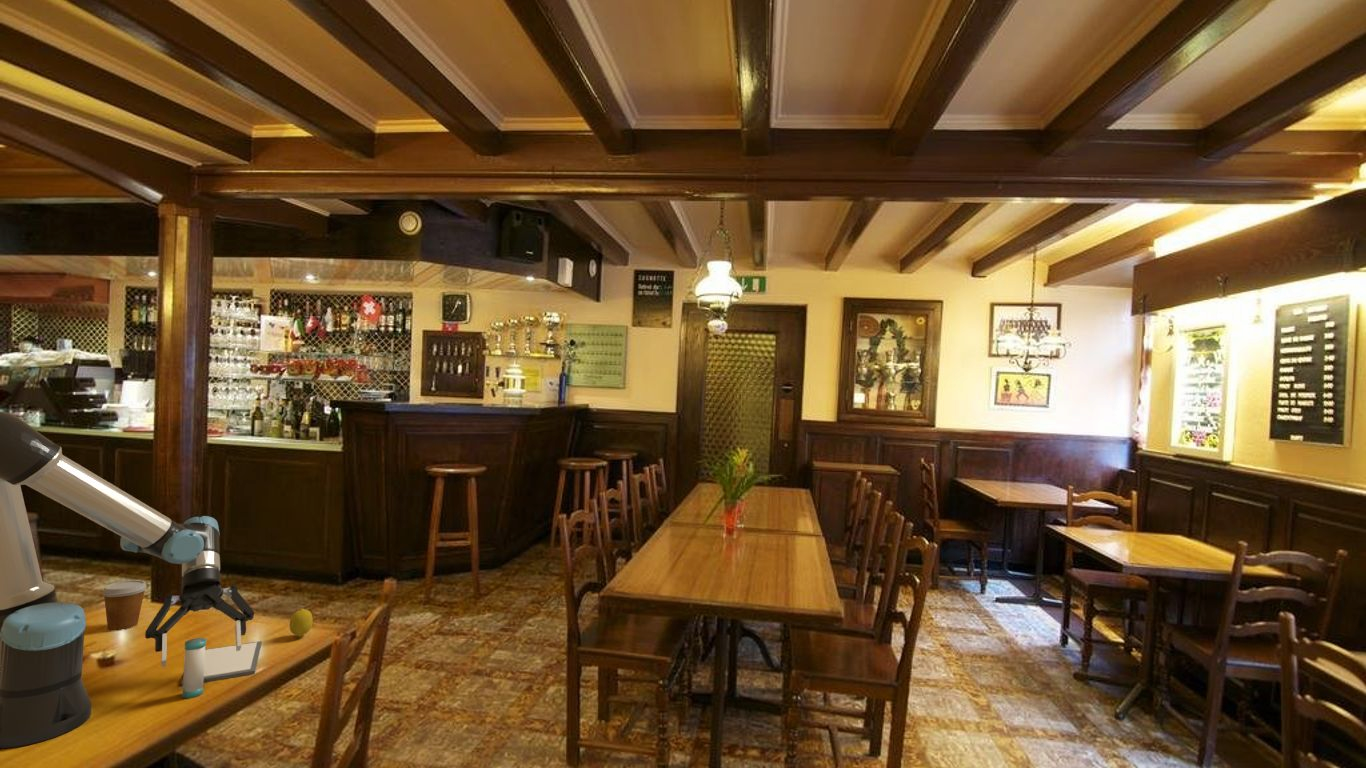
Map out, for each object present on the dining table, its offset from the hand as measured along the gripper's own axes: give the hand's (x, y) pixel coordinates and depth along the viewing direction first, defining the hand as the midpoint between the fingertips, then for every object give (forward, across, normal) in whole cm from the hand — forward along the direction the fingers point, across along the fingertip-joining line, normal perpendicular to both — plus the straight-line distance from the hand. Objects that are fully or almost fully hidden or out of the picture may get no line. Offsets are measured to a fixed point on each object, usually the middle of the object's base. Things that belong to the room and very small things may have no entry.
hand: (202, 655), depth 139 cm
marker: (+7, +2, -4) cm, 8 cm away
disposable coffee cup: (-35, +14, -47) cm, 61 cm away
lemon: (-9, -23, -20) cm, 32 cm away
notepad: (-4, -5, -15) cm, 16 cm away
